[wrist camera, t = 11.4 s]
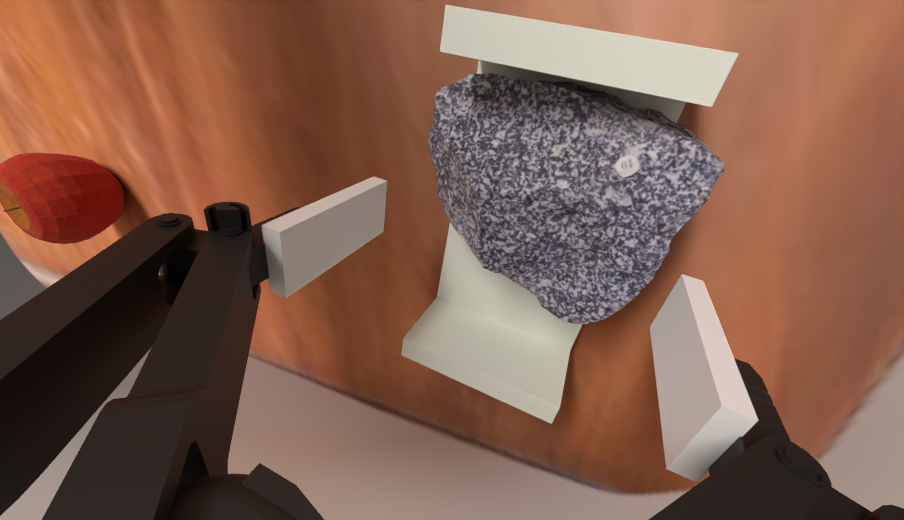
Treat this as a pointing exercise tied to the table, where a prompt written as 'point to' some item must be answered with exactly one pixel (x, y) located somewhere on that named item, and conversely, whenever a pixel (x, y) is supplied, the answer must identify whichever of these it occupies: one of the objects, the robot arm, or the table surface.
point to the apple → (59, 196)
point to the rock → (565, 187)
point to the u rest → (491, 294)
